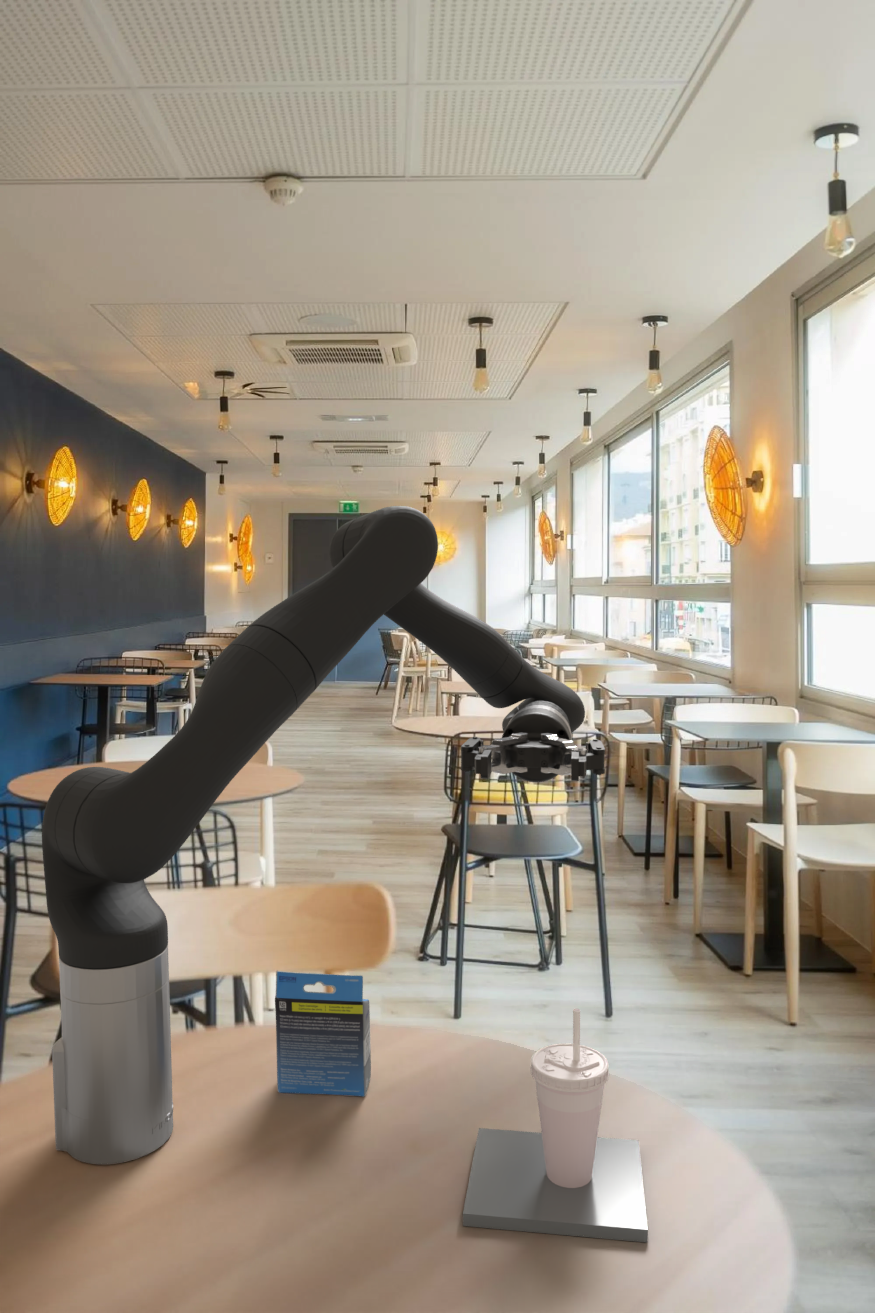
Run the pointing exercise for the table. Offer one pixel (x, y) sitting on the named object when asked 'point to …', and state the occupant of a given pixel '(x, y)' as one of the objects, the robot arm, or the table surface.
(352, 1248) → the table surface
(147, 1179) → the table surface
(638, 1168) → the metal board
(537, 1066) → the smoothie
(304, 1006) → the label tape box
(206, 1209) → the table surface
